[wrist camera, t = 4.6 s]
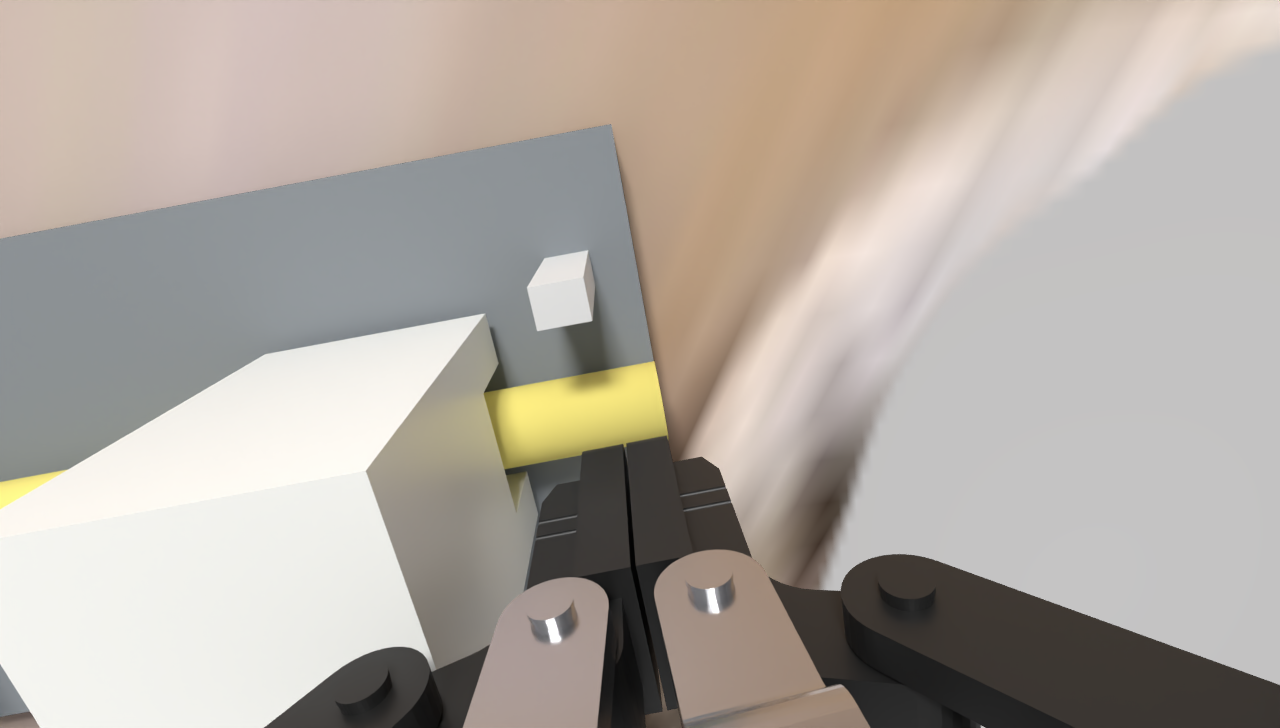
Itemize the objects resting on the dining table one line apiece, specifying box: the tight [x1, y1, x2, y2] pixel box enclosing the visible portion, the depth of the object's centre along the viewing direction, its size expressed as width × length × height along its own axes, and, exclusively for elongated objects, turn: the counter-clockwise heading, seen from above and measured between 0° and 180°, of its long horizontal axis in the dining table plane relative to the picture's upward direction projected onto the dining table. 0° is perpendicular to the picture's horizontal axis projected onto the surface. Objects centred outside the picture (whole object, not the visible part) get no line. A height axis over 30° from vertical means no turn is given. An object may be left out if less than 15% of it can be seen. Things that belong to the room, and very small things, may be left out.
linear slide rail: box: [0, 124, 669, 717], centre depth 14 cm, size 22×12×5 cm, turn 100°
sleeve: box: [0, 314, 538, 728], centre depth 11 cm, size 5×5×7 cm
